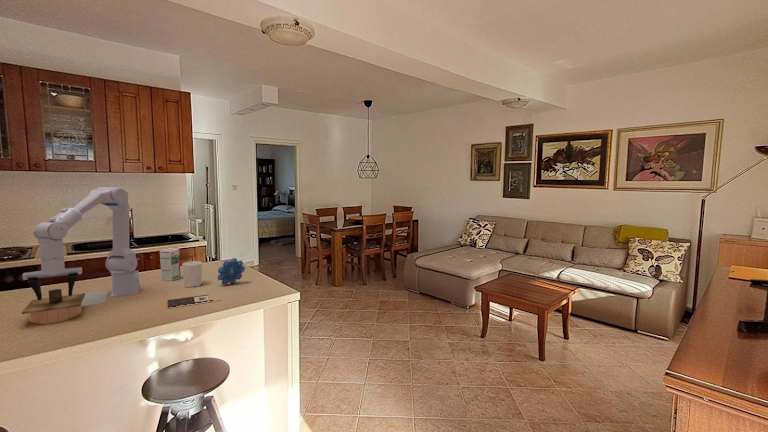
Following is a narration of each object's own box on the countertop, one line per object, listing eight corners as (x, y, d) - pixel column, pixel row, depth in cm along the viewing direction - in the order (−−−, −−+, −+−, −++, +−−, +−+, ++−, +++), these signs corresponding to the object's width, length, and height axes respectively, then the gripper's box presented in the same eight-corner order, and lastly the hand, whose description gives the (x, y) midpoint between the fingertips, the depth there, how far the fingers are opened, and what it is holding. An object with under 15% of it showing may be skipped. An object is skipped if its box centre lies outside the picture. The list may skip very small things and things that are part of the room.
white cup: (189, 288, 154) (188, 266, 153) (179, 285, 158) (178, 263, 157) (206, 284, 161) (205, 262, 160) (196, 281, 165) (195, 260, 164)
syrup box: (171, 281, 165) (170, 250, 163) (160, 280, 166) (159, 249, 165) (181, 278, 170) (179, 248, 169) (170, 277, 172) (169, 247, 170)
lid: (85, 294, 130) (84, 282, 130) (80, 305, 119) (79, 292, 118) (32, 301, 122) (31, 288, 122) (21, 314, 111) (20, 299, 110)
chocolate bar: (167, 300, 137) (218, 293, 147) (167, 302, 137) (218, 295, 147) (167, 307, 130) (221, 299, 139) (168, 309, 130) (221, 301, 139)
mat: (107, 291, 148) (107, 291, 148) (104, 303, 134) (104, 302, 134) (52, 299, 138) (52, 298, 138) (43, 312, 124) (43, 311, 124)
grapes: (243, 280, 168) (242, 255, 167) (246, 283, 162) (245, 258, 161) (216, 283, 162) (215, 257, 161) (218, 287, 156) (217, 260, 155)
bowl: (83, 307, 130) (83, 295, 129) (79, 318, 119) (78, 305, 119) (34, 314, 122) (33, 301, 122) (25, 327, 112) (24, 313, 111)
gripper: (18, 262, 111) (22, 304, 113) (79, 257, 120) (82, 296, 121) (24, 258, 117) (27, 298, 118) (81, 254, 125) (84, 291, 127)
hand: (55, 297), depth 120 cm, fingers open, 7 cm apart
